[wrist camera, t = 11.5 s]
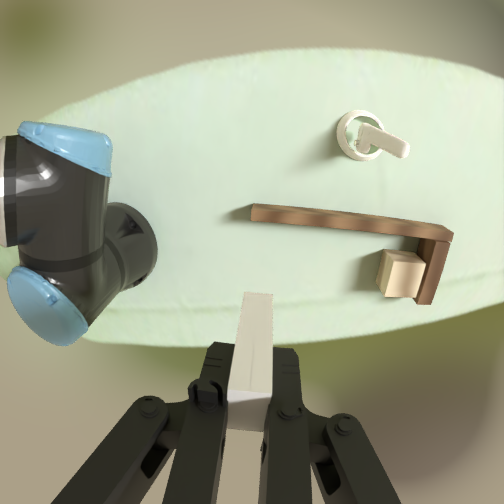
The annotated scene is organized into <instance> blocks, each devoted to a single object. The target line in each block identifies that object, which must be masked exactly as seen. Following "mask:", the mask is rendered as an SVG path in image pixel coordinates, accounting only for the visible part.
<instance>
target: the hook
mask: <svg viewBox="0 0 504 504" xmlns="http://www.w3.org/2000/svg"><path fill="white" fill-rule="evenodd" d="M359 116H367V117H370V118H372V119H373V120H374V121H376V122H377V124H378V125H379V127H380V129H379V128H376V127H374V126H372V125H370V124H368V123H362V124H361V125H360V128H359V132H358V138H357V140H355V141H354V146H356V149H357V151H358V152H360V153H363V154H365V153H368V152H369V149H370V146H371V144H373V145H374V146H377V147H379V149H378V150H377V151H376V152H374V153H372V154H369V155H363V154H360V153H357V152H356V151H354V150H353V149H352V148H351V147H350V146H349V144H348V142H347V139H346V129H347V126H348V124H349V122H350V121H351V120H352V119H354V118H356V117H359ZM337 140H338V143H339V146H340V147H341V149H342V150H343V152H344V153H345V154H346V155H348V156H349V157H351V158H352V159H355V160H358V161H368V160H372V159H374V158H375V157H377V156H378V155H379V154H380V153H381V151H382V150H385V151H387V152H388V153H390V154H392V155H394V156H396V157H398V158H406V157H407V156H408V154H409V151H410V146H409V144H408V143H407V142H406V141H404V140H402V139H400V138H398V137H396V136H394V135H392V134H390V133H388V132H385V130H384V127H383V125H382V123H381V122H380V120H379V119H378V118H377V117H376V116H374V115H373V114H371V113H369V112H367V111H363V110H355V111H351V112H349V113H347V114H346V115H344V116H343V117H342V118H341V120H340V122H339V123H338V126H337Z"/></svg>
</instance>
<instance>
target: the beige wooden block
mask: <svg viewBox="0 0 504 504" xmlns="http://www.w3.org/2000/svg"><path fill="white" fill-rule="evenodd" d="M425 266H426V263H425V262H424V261H423V260H422V259H421V258H420V257H419V256H417V255H416V254H415V253H414V252H410V251H400V250H389V249H383V252H382V257H381V261H380V266H379V270H378V274H377V278H376V284H377V285H378V287H379V289H380V290H381V292H382V294H383V295H384V297H412V298H416V295H417V292H418V289H419V286H420V283H421V280H422V276H423V273H424V269H425Z"/></svg>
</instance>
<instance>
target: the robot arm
mask: <svg viewBox="0 0 504 504" xmlns="http://www.w3.org/2000/svg"><path fill="white" fill-rule="evenodd" d="M17 133H18V135H12V136H3V137H2V138H1V139H0V244H1V245H2V246H3V247H4V248H5V247H11V246H16V245H18V249H19V258H20V265H19V266H16V267H14V268H13V269H12V272H11V273H10V275H9V277H8V279H7V289H8V293H9V296H10V299H11V301H12V304H13V306H14V307H15V309H16V311H17V313H18V314H19V315H20V317H21V318H22V320H23V321H24V322H25V323H26V324H27V325H28V327H29V328H30V329H31V330H32V331H34V332H35V333H36V334H37V335H38V336H40V337H41V338H43V339H44V340H46V341H48V342H50V343H52V344H55V345H58V346H68V345H70V344H73V343H74V342H75V341H76V340H77V339H78V338H80V337H81V336H82V335H83V334H85V333H86V332H87V331H88V327H89V326H90V325H91V324H92V323H93V322H94V320H95V319H96V318H97V317H98V316H99V315H100V313H101V312H102V311H103V310H104V309H105V308H106V307H107V305H108V304H109V303H110V302H111V301H112V300H113V299H114V298H115V296H116V295H117V294H118V293H119V292H121V291H124V290H127V289H130V288H132V287H135V286H137V285H139V284H140V283H142V282H143V281H144V280H145V279H146V278H147V277H148V275H149V274H150V273H151V272H152V270H153V268H154V266H155V264H156V260H157V242H156V238H155V235H154V232H153V230H152V228H151V226H150V224H149V223H148V221H147V220H146V219H145V218H144V216H143V215H142V214H141V213H139V212H138V211H137V210H136V209H134V208H132V207H131V206H129V205H126V204H123V203H117V202H113V203H107V201H108V191H109V183H110V177H112V173H111V159H112V150H113V146H112V142H111V140H110V138H109V137H108V136H107V135H105V134H103V133H100V132H96V131H92V130H87V129H82V128H77V127H70V126H65V125H58V124H51V123H43V122H32V121H24V122H22V123H21V124H20V127H19V128H18V130H17ZM188 395H189V399H188V400H185V401H182V402H176V403H165V402H164V401H163V400H161V399H160V398H159V397H155V396H144V397H141V398H139V399H137V400H136V401H135V402H134V403H133V404H132V406H131V407H130V408H129V409H128V410H127V412H126V413H125V414H124V415H123V417H122V418H121V419H120V420H119V421H118V423H117V424H116V425H115V426H114V427H113V429H112V430H111V431H110V432H109V434H108V435H107V436H106V437H105V439H104V440H103V441H102V442H101V443H100V445H99V446H98V447H97V448H96V449H95V451H94V452H93V453H92V454H91V456H90V457H89V458H88V459H87V460H86V462H85V463H84V464H83V465H82V466H81V468H80V469H79V470H78V471H77V473H76V474H75V475H74V476H73V477H72V479H71V480H70V481H69V482H68V483H67V485H66V486H65V487H64V488H63V489H62V491H61V492H60V493H59V494H58V496H57V497H56V498H55V499H54V500H53V502H52V503H51V504H140V502H141V501H142V499H143V498H144V496H145V494H146V493H147V492H148V490H149V489H150V487H151V485H152V484H153V482H154V481H155V479H156V478H157V476H158V475H159V473H160V471H161V470H162V468H163V467H164V465H165V464H166V462H167V460H168V459H169V457H170V456H171V454H172V452H173V451H174V449H176V452H175V456H174V460H173V464H172V468H171V471H170V475H169V479H168V483H167V487H166V491H165V494H164V498H163V502H162V504H216V500H217V493H218V487H219V480H220V473H221V467H222V459H223V453H224V446H225V437H226V435H225V434H226V428H228V429H237V430H247V431H259V432H263V431H264V438H263V442H262V446H261V450H260V451H262V453H261V471H260V485H259V500H258V504H312V487H311V469H310V468H311V467H310V464H311V466H312V469H313V472H314V475H315V477H316V480H317V483H318V486H319V488H320V491H321V494H322V496H323V499H324V502H325V504H401V502H400V500H399V498H398V496H397V494H396V492H395V490H394V488H393V486H392V484H391V482H390V480H389V478H388V476H387V474H386V472H385V470H384V468H383V466H382V464H381V462H380V460H379V458H378V457H377V455H376V453H375V451H374V449H373V447H372V445H371V443H370V441H369V439H368V437H367V436H366V434H365V432H364V430H363V428H362V426H361V424H360V422H359V421H358V420H357V419H356V418H355V417H353V416H352V415H349V414H345V413H341V414H336V415H334V416H332V417H331V418H327V417H323V416H319V415H316V414H313V413H312V412H310V411H309V410H308V409H307V408H306V407H305V406H304V404H303V401H302V393H301V380H300V370H299V359H298V355H297V354H296V352H295V351H294V349H292V348H291V349H290V348H278V347H273V294H262V293H252V292H244V296H243V302H242V307H241V313H240V319H239V325H238V331H237V337H236V342H235V344H229V343H221V342H214V343H213V344H212V345H211V346H210V347H209V348H208V349H207V353H206V357H205V360H204V364H203V368H202V371H201V374H200V378H199V379H196V380H194V381H193V382H191V383H190V385H189V387H188Z"/></svg>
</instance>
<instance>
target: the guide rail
mask: <svg viewBox="0 0 504 504" xmlns="http://www.w3.org/2000/svg"><path fill="white" fill-rule="evenodd" d="M251 221H262V222H274V223H286V224H298V225H309V226H320V227H330V228H340V229H350V230H360V231H369V232H378V233H387V234H395V235H403V236H412V237H420V242H419V247H418V251H417V254H416V255H417V256H419V257H420V258H421V259H422V260H423V261H424V262H425V263H426V266H425V269H424V273H423V276H422V280H421V283H420V286H419V289H418V292H417V295H416V298H413V299H414V301H415V302H416V304H419V305H431V303H432V300H433V298H434V295H435V292H436V289H437V286H438V283H439V280H440V277H441V274H442V271H443V268H444V264H445V261H446V257H447V254H448V250H449V247H450V243H449V242H448V241H450V242H452V239H453V234H454V233H453V232H452V231H450V230H449V229H447V228H446V227H444V226H442V225H437V224H431V223H425V222H418V221H412V220H405V219H398V218H390V217H383V216H375V215H367V214H359V213H351V212H342V211H333V210H323V209H314V208H303V207H292V206H280V205H268V204H255V203H254V204H253V206H252V209H251Z"/></svg>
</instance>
